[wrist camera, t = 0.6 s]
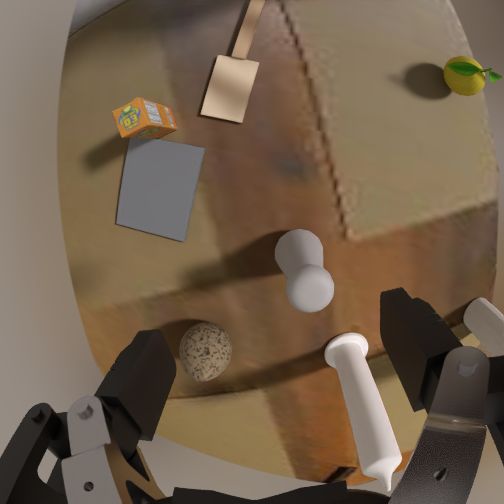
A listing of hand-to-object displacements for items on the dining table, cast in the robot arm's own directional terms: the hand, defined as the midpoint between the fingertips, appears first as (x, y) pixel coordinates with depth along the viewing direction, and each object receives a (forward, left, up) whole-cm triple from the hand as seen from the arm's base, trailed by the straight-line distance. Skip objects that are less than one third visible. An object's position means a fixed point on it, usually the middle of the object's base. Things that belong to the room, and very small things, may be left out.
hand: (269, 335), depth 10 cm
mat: (+1, -14, -26) cm, 30 cm away
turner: (-19, -8, -26) cm, 33 cm away
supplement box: (-7, -15, -27) cm, 31 cm away
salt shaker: (+4, +5, -27) cm, 27 cm away
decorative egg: (+20, -3, -27) cm, 34 cm away
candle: (+18, +18, -27) cm, 37 cm away
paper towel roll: (+7, +41, -27) cm, 49 cm away
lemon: (-26, +20, -27) cm, 42 cm away
